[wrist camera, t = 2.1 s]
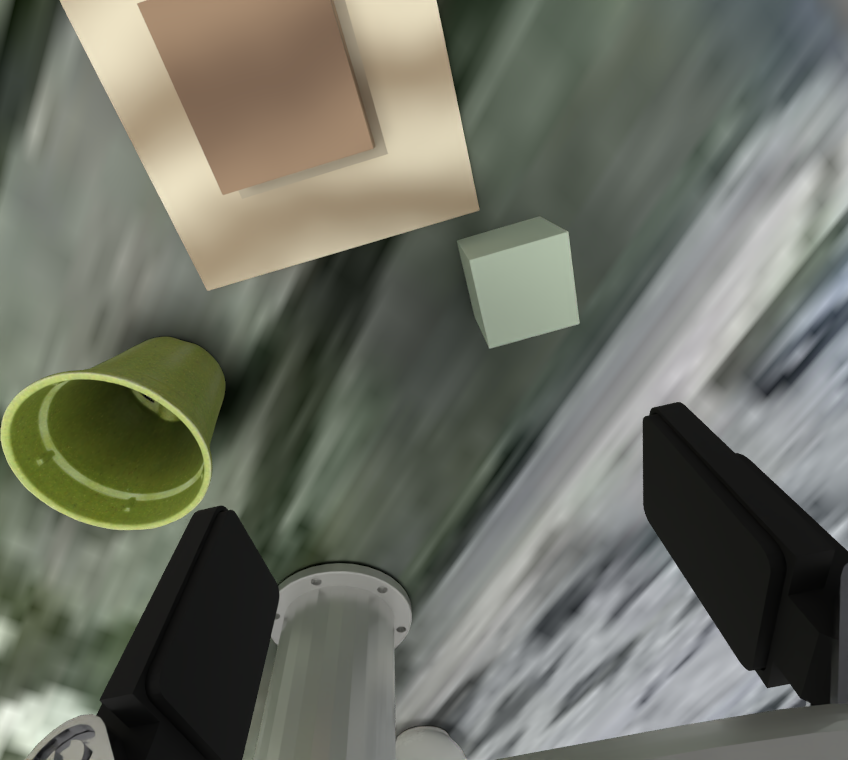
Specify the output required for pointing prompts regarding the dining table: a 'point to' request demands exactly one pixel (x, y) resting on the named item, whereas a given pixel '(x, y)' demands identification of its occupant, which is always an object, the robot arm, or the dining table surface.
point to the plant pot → (120, 435)
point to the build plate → (312, 188)
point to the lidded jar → (427, 745)
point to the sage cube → (520, 280)
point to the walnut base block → (261, 84)
